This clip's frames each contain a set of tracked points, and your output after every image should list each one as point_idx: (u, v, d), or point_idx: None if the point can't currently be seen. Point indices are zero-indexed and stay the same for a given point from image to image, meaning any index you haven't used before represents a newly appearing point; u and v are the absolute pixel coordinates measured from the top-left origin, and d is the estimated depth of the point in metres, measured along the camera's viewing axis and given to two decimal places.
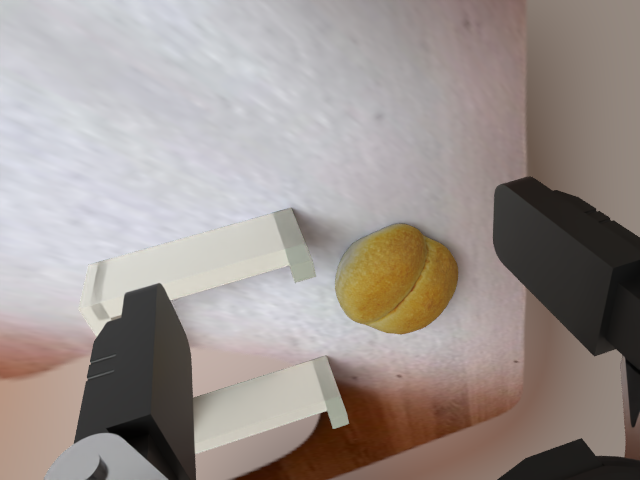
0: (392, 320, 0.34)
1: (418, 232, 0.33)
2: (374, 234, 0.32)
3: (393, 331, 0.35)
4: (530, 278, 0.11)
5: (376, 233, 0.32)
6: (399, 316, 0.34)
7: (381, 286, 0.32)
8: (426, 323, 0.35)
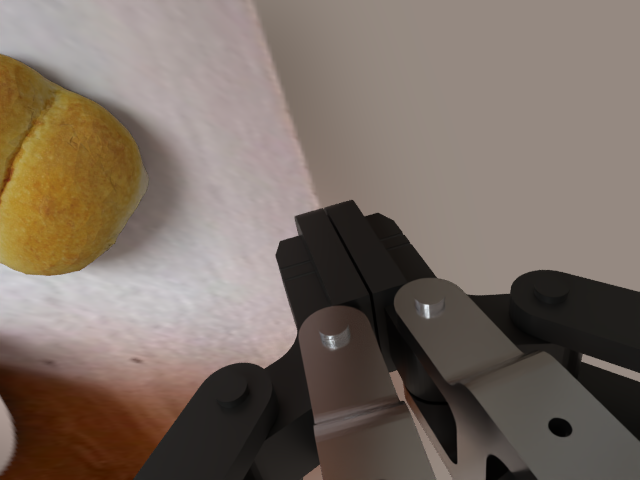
0: (4, 245, 0.19)
1: (15, 65, 0.17)
2: None
3: (25, 269, 0.19)
4: None
5: None
6: (7, 235, 0.18)
7: None
8: (71, 250, 0.19)
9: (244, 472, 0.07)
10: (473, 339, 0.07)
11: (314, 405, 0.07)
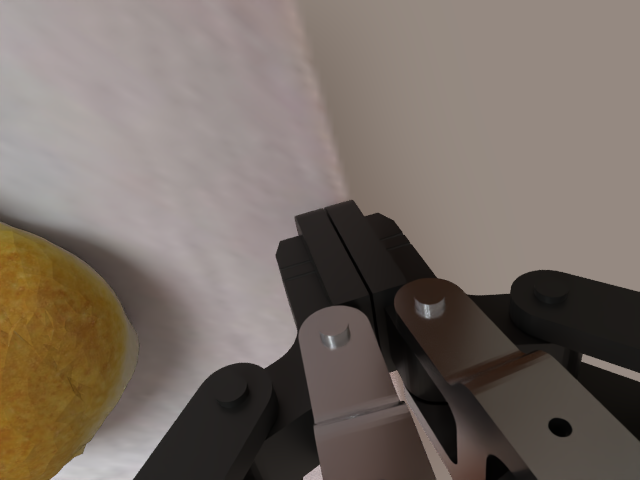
0: None
1: None
2: None
3: None
4: None
5: None
6: None
7: None
8: None
9: (244, 472, 0.07)
10: (473, 338, 0.07)
11: (314, 405, 0.07)
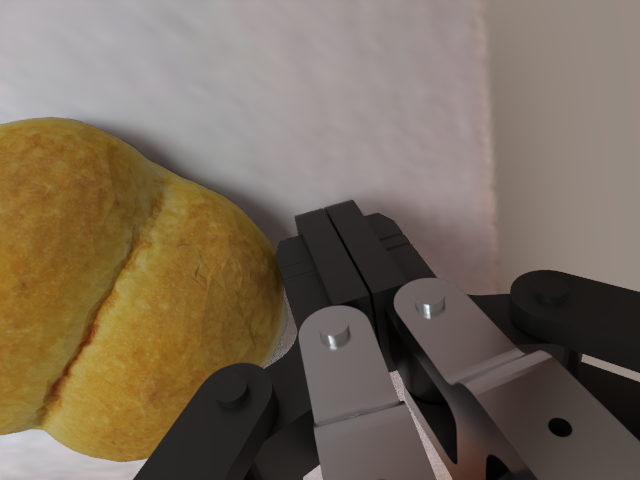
0: (66, 432, 0.11)
1: (108, 145, 0.10)
2: None
3: (94, 456, 0.12)
4: None
5: None
6: (75, 422, 0.11)
7: None
8: None
9: (244, 472, 0.07)
10: (473, 339, 0.07)
11: (314, 404, 0.07)
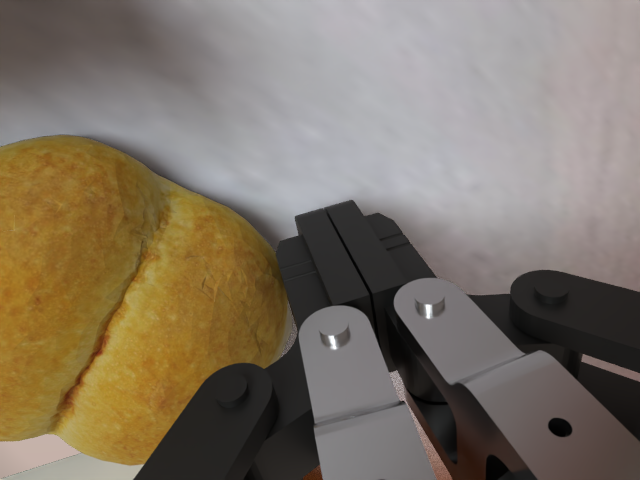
0: (79, 438, 0.11)
1: (116, 161, 0.10)
2: None
3: (106, 460, 0.12)
4: None
5: None
6: (87, 429, 0.11)
7: None
8: None
9: (244, 472, 0.07)
10: (473, 338, 0.07)
11: (314, 405, 0.07)
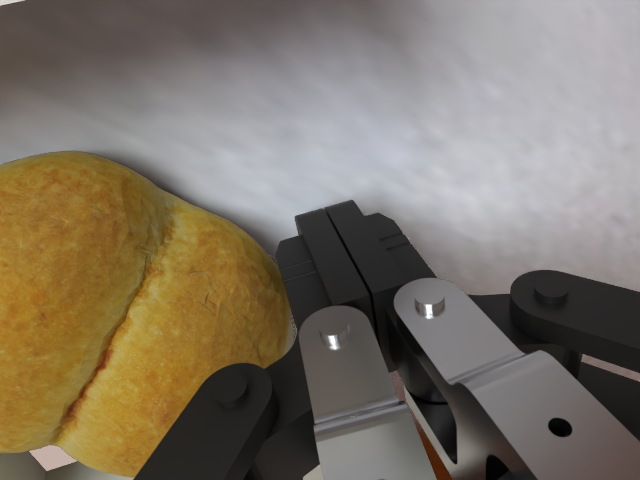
0: (81, 450, 0.12)
1: (121, 177, 0.10)
2: None
3: (107, 472, 0.12)
4: None
5: None
6: (90, 441, 0.11)
7: None
8: None
9: (244, 472, 0.07)
10: (473, 338, 0.07)
11: (314, 404, 0.07)
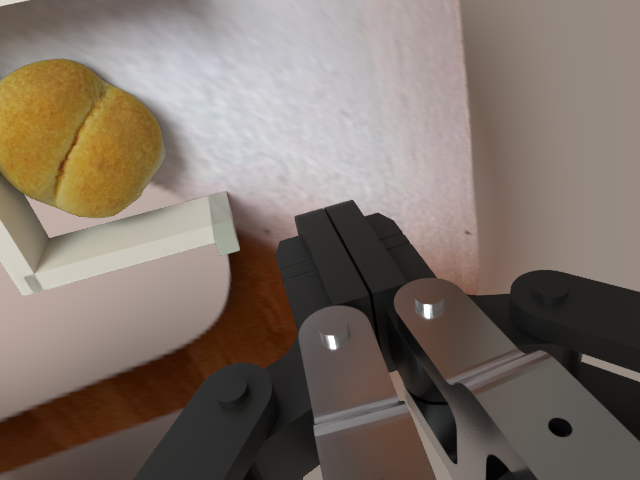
0: (66, 191, 0.27)
1: (83, 69, 0.26)
2: (21, 67, 0.25)
3: (78, 210, 0.28)
4: None
5: (23, 66, 0.25)
6: (70, 183, 0.26)
7: (17, 129, 0.24)
8: (112, 196, 0.27)
9: (244, 472, 0.07)
10: (473, 338, 0.07)
11: (314, 404, 0.07)
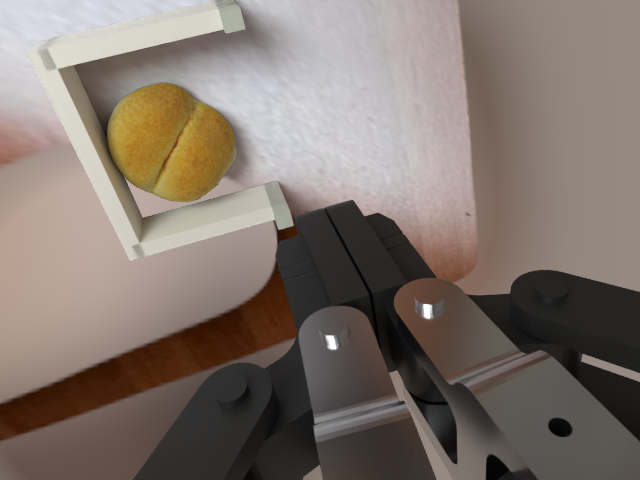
0: (165, 181, 0.36)
1: (181, 90, 0.34)
2: (136, 90, 0.34)
3: (172, 196, 0.37)
4: None
5: (138, 89, 0.34)
6: (169, 175, 0.35)
7: (137, 136, 0.33)
8: (199, 185, 0.36)
9: (244, 472, 0.07)
10: (473, 339, 0.07)
11: (314, 404, 0.07)
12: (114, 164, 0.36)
